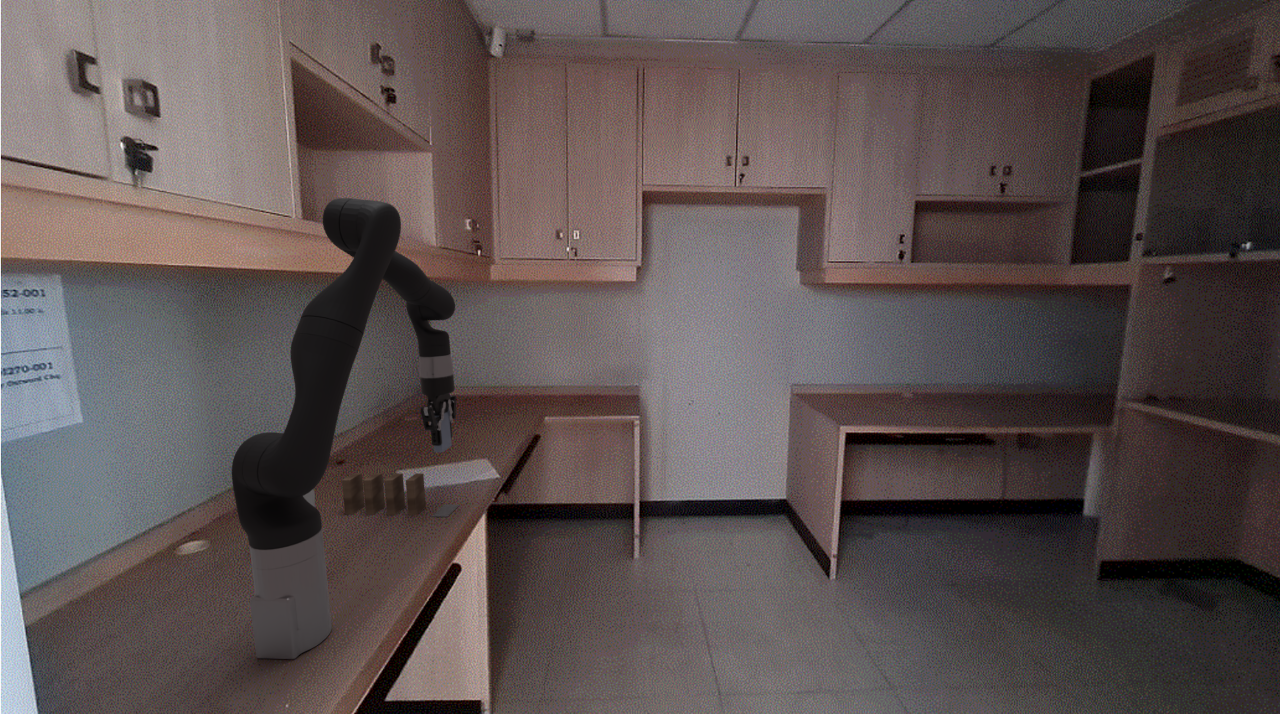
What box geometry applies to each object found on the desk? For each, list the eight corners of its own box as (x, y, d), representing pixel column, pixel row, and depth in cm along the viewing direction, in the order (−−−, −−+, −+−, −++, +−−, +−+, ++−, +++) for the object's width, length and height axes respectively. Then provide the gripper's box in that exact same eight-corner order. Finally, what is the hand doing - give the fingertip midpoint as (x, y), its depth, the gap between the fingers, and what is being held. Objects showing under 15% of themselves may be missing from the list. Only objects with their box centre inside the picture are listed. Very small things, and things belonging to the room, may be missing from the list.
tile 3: (394, 515, 125) (392, 480, 124) (387, 514, 125) (384, 480, 124) (405, 506, 130) (402, 473, 129) (398, 506, 130) (395, 473, 129)
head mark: (447, 517, 123) (447, 516, 123) (431, 516, 123) (431, 516, 123) (459, 505, 130) (459, 504, 130) (444, 505, 130) (444, 504, 130)
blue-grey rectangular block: (442, 452, 121) (439, 416, 119) (434, 452, 121) (431, 416, 120) (451, 445, 126) (448, 411, 124) (444, 445, 126) (441, 411, 125)
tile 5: (352, 514, 126) (349, 480, 125) (345, 514, 126) (341, 480, 125) (364, 506, 130) (361, 473, 129) (357, 506, 131) (354, 473, 130)
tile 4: (373, 514, 125) (370, 480, 124) (366, 514, 125) (363, 480, 124) (385, 506, 130) (382, 473, 129) (377, 506, 130) (374, 473, 129)
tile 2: (416, 515, 124) (413, 480, 123) (408, 515, 125) (405, 480, 124) (425, 506, 129) (423, 473, 128) (418, 506, 130) (415, 473, 129)
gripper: (437, 379, 113) (443, 451, 116) (464, 368, 127) (469, 433, 130) (405, 379, 114) (412, 451, 116) (436, 369, 128) (441, 433, 130)
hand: (442, 441), depth 123 cm, fingers closed on blue-grey rectangular block, 5 cm apart
